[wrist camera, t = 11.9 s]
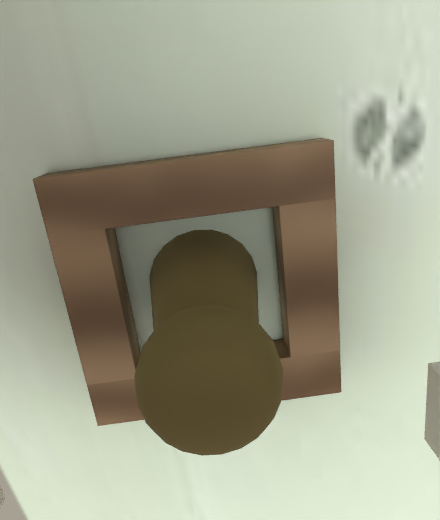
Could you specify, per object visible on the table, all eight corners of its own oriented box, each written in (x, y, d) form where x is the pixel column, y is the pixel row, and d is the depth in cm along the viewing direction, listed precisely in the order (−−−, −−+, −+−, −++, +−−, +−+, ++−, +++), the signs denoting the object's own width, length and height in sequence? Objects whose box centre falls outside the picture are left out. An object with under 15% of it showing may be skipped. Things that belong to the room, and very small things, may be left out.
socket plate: (46, 173, 21) (32, 178, 19) (321, 138, 21) (333, 140, 20) (104, 403, 26) (97, 425, 24) (330, 372, 26) (341, 392, 24)
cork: (227, 344, 25) (251, 506, 15) (132, 305, 24) (85, 451, 13) (276, 257, 23) (342, 369, 13) (177, 210, 22) (162, 293, 12)
